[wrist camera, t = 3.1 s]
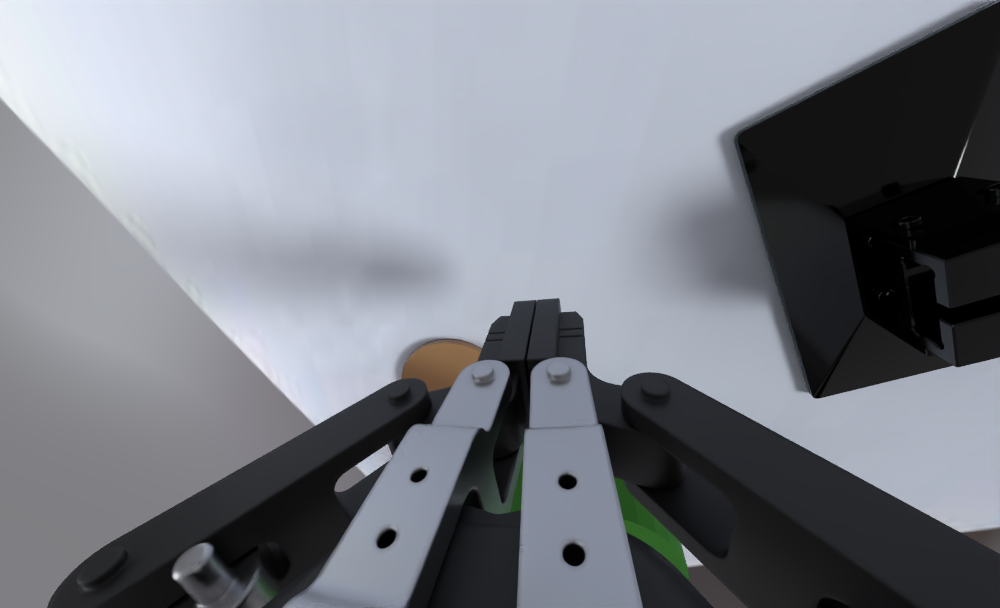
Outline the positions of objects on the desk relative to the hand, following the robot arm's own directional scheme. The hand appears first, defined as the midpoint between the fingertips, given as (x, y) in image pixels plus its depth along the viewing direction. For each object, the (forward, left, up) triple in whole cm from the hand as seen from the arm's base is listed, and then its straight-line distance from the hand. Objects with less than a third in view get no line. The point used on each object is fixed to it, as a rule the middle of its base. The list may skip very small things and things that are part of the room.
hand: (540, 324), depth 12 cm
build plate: (0, +12, -4) cm, 13 cm away
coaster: (+6, -6, -4) cm, 9 cm away
